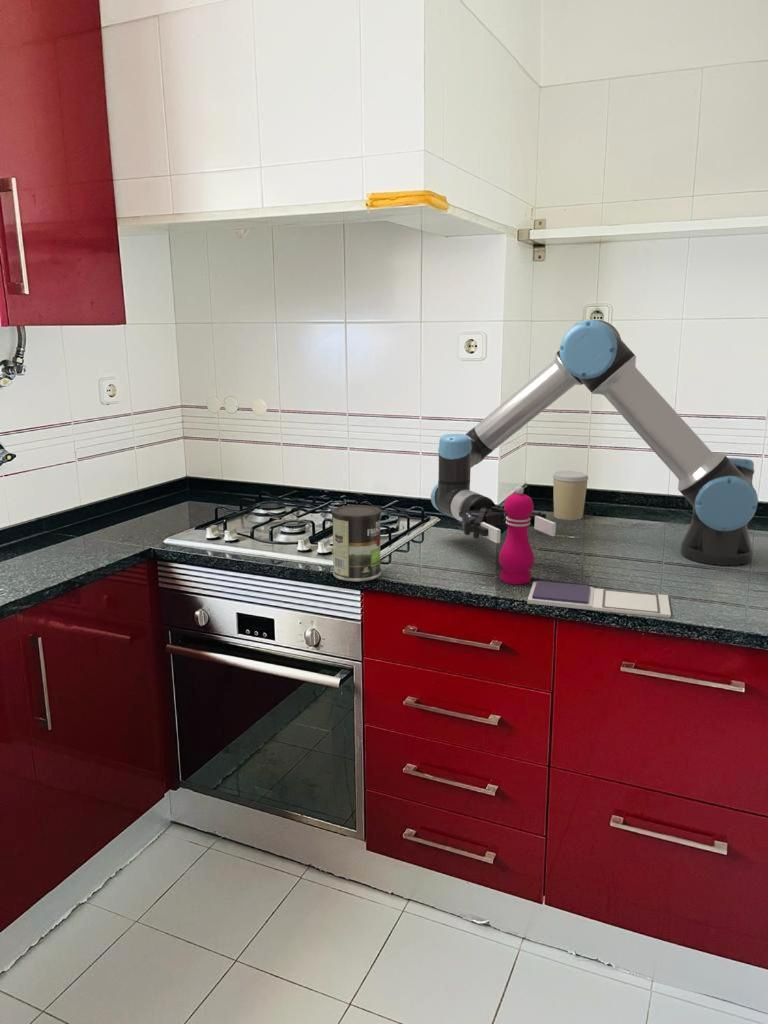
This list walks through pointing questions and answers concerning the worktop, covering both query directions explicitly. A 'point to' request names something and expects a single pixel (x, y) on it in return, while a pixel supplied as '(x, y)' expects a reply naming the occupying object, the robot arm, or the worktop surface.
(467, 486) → the robot arm
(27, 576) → the worktop surface
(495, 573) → the worktop surface
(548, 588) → the ink pad
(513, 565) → the pepper mill
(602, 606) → the board
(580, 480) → the coffee cup
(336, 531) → the coffee can
